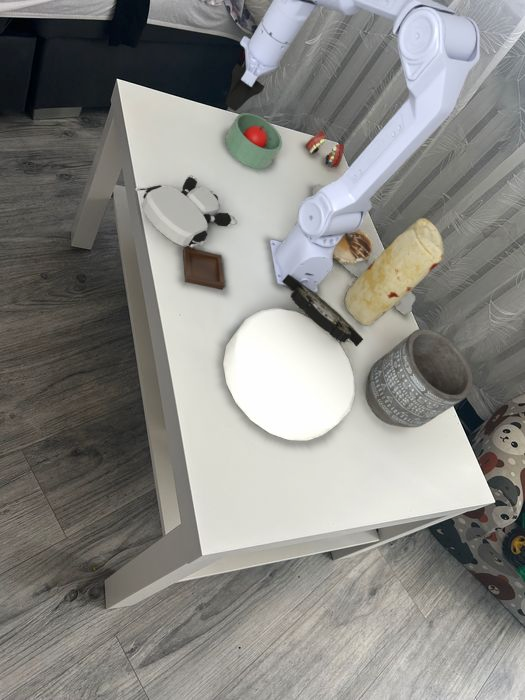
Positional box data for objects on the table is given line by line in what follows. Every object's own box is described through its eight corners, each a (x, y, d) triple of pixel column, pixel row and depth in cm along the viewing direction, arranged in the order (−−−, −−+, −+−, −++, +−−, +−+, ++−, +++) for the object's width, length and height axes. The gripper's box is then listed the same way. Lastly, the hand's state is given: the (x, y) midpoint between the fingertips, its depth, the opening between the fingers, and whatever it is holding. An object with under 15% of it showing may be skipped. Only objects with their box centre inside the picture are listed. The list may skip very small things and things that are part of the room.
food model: (377, 333, 104) (457, 263, 90) (345, 325, 102) (423, 251, 87) (367, 289, 110) (441, 217, 95) (337, 281, 107) (409, 204, 92)
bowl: (273, 174, 115) (285, 157, 111) (228, 159, 110) (238, 141, 107) (267, 140, 120) (278, 123, 116) (223, 125, 115) (233, 106, 112)
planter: (429, 425, 98) (486, 390, 89) (381, 445, 91) (438, 409, 81) (392, 362, 102) (443, 322, 93) (343, 377, 94) (393, 334, 85)
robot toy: (183, 184, 102) (123, 207, 91) (194, 164, 99) (134, 185, 88) (233, 235, 101) (178, 264, 90) (246, 217, 98) (191, 244, 87)
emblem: (363, 334, 100) (364, 351, 86) (356, 341, 101) (357, 359, 86) (291, 272, 100) (280, 278, 86) (285, 279, 100) (273, 286, 86)
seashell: (357, 207, 100) (383, 253, 105) (341, 203, 106) (366, 247, 110) (322, 235, 100) (349, 280, 104) (307, 230, 105) (334, 273, 110)
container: (206, 322, 87) (219, 304, 83) (313, 321, 98) (329, 305, 95) (247, 450, 79) (264, 435, 75) (359, 432, 90) (378, 419, 87)
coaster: (222, 290, 92) (225, 286, 91) (184, 282, 89) (187, 278, 88) (218, 259, 95) (221, 255, 94) (182, 250, 92) (184, 246, 92)
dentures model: (307, 143, 120) (340, 164, 121) (317, 126, 121) (349, 148, 122) (299, 153, 125) (331, 174, 127) (309, 137, 126) (340, 158, 127)
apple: (261, 159, 114) (275, 138, 110) (240, 152, 112) (253, 130, 108) (258, 143, 117) (271, 121, 113) (237, 136, 115) (250, 113, 111)
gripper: (267, -4, 97) (229, 62, 108) (243, 34, 89) (204, 102, 99) (302, 23, 99) (261, 86, 109) (282, 63, 90) (240, 127, 101)
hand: (236, 96), depth 104 cm, fingers open, 7 cm apart
